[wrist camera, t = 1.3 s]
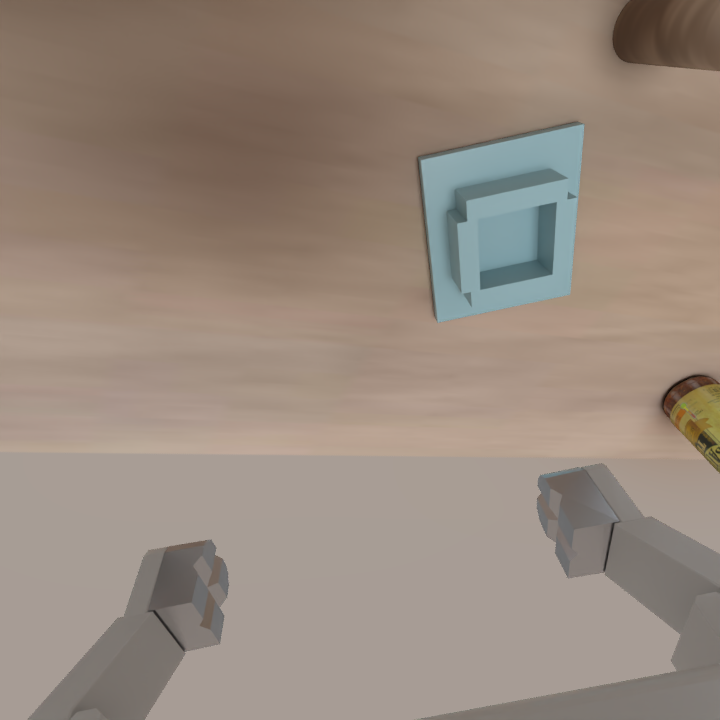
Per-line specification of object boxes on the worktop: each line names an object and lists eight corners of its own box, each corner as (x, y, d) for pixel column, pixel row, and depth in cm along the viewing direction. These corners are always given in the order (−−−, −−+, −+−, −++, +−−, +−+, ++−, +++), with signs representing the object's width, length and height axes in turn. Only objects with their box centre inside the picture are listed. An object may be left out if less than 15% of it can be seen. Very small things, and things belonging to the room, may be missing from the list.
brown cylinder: (616, -2, 31) (716, -13, 23) (678, -16, 31) (797, -32, 23) (609, 68, 33) (698, 79, 26) (666, 56, 33) (771, 62, 26)
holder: (418, 157, 35) (429, 170, 32) (577, 121, 35) (606, 131, 31) (435, 317, 43) (445, 340, 40) (564, 289, 43) (586, 310, 40)
